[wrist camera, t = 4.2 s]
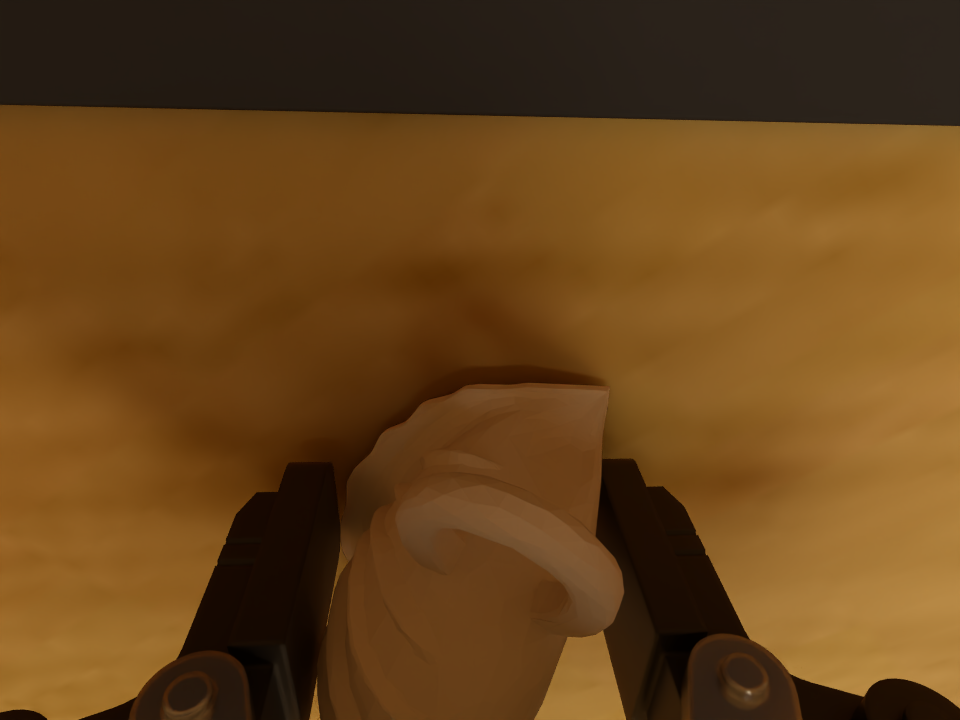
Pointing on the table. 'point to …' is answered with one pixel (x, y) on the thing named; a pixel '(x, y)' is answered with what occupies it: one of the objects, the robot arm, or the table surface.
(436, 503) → the decorative ornament
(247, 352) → the table surface
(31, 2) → the mat
